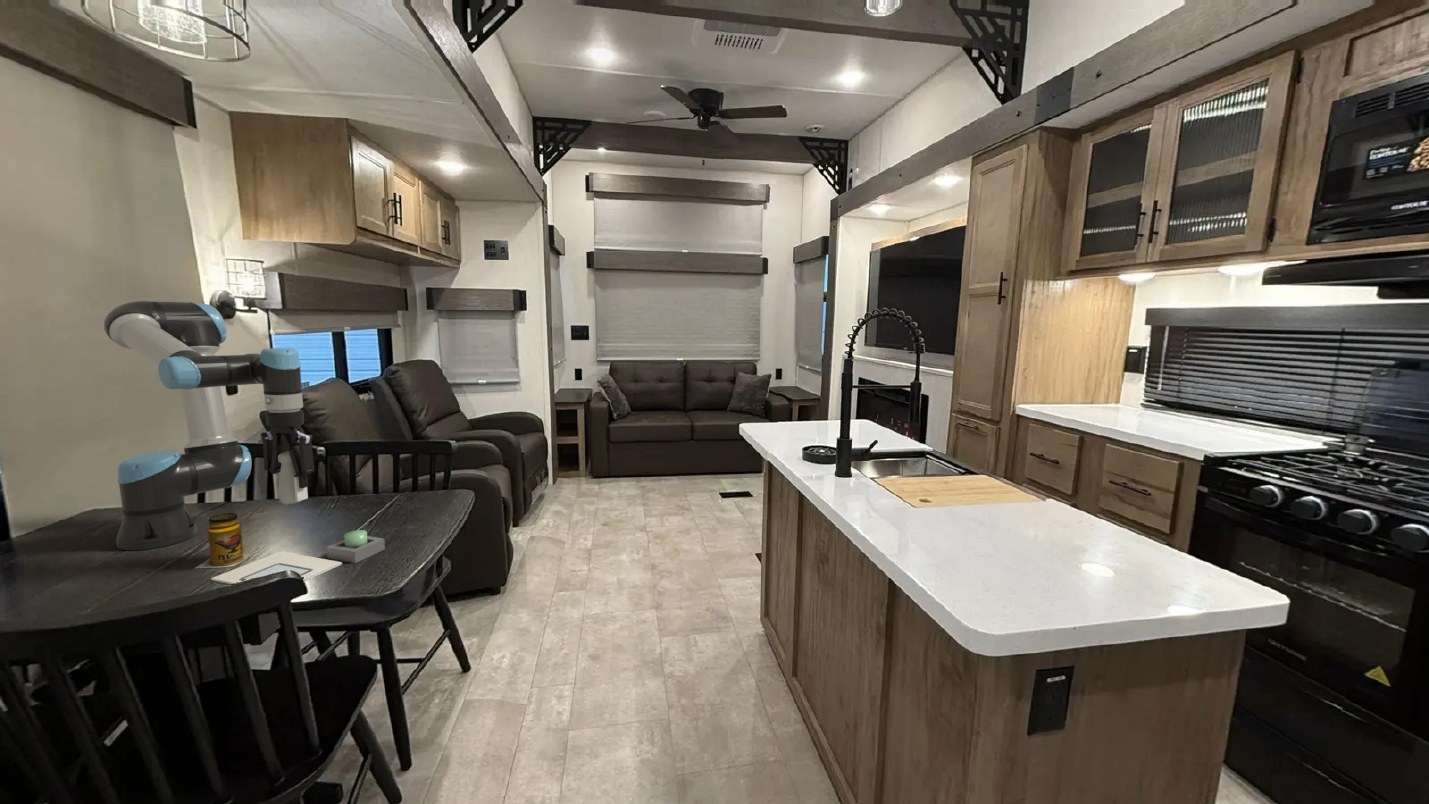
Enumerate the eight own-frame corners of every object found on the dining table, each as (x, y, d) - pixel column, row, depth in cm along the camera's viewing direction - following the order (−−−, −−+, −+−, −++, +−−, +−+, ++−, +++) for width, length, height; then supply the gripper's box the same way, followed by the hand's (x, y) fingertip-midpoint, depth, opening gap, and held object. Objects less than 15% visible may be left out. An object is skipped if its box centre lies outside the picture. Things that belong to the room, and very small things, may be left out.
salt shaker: (290, 506, 137) (286, 456, 135) (271, 504, 138) (267, 454, 136) (311, 498, 142) (308, 450, 140) (293, 497, 143) (289, 449, 141)
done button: (340, 550, 141) (339, 536, 140) (357, 543, 146) (356, 529, 145) (355, 553, 140) (354, 538, 139) (372, 545, 145) (371, 531, 144)
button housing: (327, 558, 140) (326, 547, 139) (358, 544, 148) (357, 534, 148) (355, 563, 138) (354, 551, 137) (384, 549, 146) (384, 538, 146)
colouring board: (211, 580, 126) (210, 577, 126) (281, 553, 142) (281, 550, 142) (277, 594, 121) (276, 591, 121) (342, 564, 137) (342, 561, 137)
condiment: (234, 566, 133) (230, 520, 132) (193, 569, 131) (188, 522, 130) (252, 554, 140) (248, 510, 139) (213, 556, 138) (209, 511, 137)
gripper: (239, 409, 135) (247, 499, 138) (300, 415, 131) (307, 507, 134) (270, 405, 142) (277, 490, 145) (328, 410, 138) (334, 497, 141)
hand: (291, 498), depth 140 cm, fingers closed on salt shaker, 6 cm apart
